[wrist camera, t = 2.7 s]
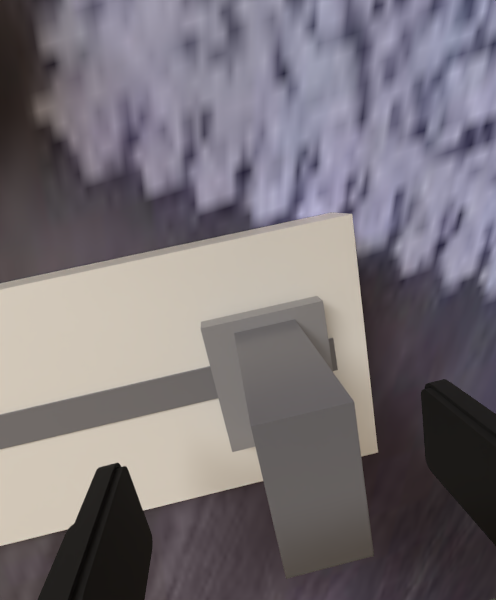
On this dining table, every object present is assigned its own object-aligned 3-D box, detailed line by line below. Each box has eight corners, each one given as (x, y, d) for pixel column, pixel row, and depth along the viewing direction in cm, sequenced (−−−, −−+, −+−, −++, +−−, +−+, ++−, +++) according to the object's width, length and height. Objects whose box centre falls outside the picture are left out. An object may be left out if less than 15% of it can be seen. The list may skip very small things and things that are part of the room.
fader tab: (317, 295, 14) (403, 370, 8) (334, 415, 16) (417, 557, 10) (200, 321, 14) (192, 421, 8) (231, 440, 16) (245, 603, 9)
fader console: (331, 212, 16) (352, 214, 14) (357, 422, 20) (378, 453, 17) (-209, 328, 15) (-291, 352, 13) (-83, 529, 19) (-127, 579, 16)
